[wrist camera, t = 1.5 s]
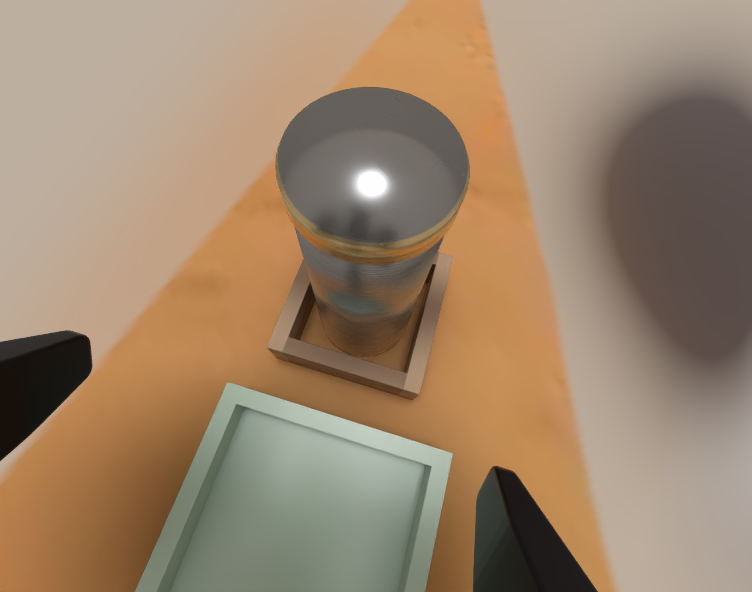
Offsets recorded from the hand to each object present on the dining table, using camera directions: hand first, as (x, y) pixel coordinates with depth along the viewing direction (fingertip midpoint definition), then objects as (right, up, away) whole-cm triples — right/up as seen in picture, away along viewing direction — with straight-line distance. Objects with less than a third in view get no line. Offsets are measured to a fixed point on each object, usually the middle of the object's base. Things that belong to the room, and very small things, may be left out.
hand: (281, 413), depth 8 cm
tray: (-1, -9, +10) cm, 13 cm away
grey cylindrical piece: (+1, +1, +14) cm, 14 cm away
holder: (+1, +1, +14) cm, 14 cm away
